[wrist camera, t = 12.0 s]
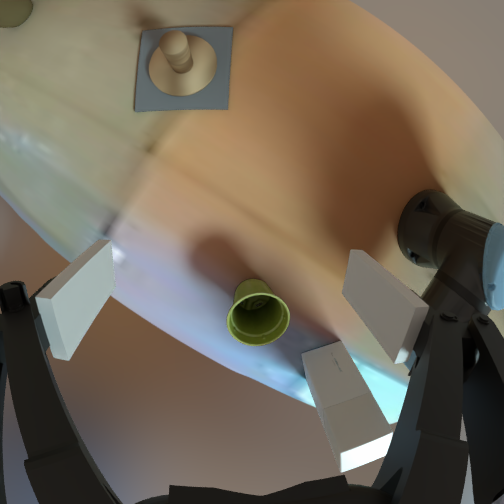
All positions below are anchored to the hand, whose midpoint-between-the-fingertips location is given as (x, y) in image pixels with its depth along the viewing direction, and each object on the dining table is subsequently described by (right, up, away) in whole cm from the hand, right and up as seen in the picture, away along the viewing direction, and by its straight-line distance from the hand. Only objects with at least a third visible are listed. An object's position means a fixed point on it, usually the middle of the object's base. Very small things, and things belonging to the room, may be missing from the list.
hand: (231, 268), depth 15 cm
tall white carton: (+16, -22, +43) cm, 51 cm away
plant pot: (+1, -6, +35) cm, 36 cm away
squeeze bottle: (-43, +46, +11) cm, 64 cm away
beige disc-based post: (-9, +28, +21) cm, 36 cm away
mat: (-9, +28, +21) cm, 37 cm away
